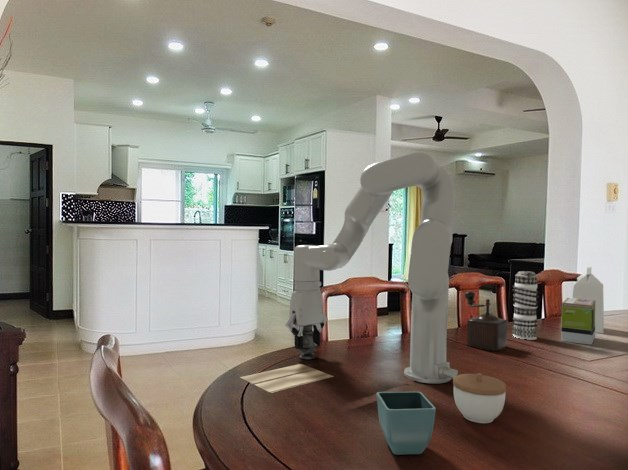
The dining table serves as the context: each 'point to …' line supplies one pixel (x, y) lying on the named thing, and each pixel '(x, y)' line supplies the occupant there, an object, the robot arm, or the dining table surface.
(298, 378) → the plank
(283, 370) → the floor strip
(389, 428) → the flower pot
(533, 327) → the decorative candle
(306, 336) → the salt shaker
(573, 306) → the tea box
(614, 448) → the dining table surface
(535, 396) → the dining table surface
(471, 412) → the lidded jar
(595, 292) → the milk
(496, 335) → the dark brown coffee grinder
